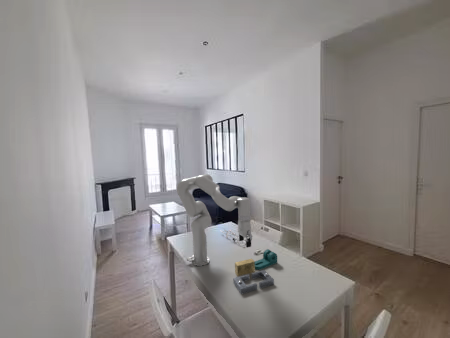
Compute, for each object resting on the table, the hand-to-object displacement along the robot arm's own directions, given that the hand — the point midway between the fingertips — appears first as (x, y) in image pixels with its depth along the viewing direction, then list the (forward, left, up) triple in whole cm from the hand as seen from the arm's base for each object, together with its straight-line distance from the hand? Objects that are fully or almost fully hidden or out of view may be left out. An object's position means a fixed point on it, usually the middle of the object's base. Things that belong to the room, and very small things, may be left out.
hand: (245, 243), depth 130 cm
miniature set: (+14, +49, -19) cm, 54 cm away
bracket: (+15, +3, -19) cm, 25 cm away
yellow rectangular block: (-1, 0, -19) cm, 19 cm away
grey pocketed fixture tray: (-1, -12, -19) cm, 22 cm away
